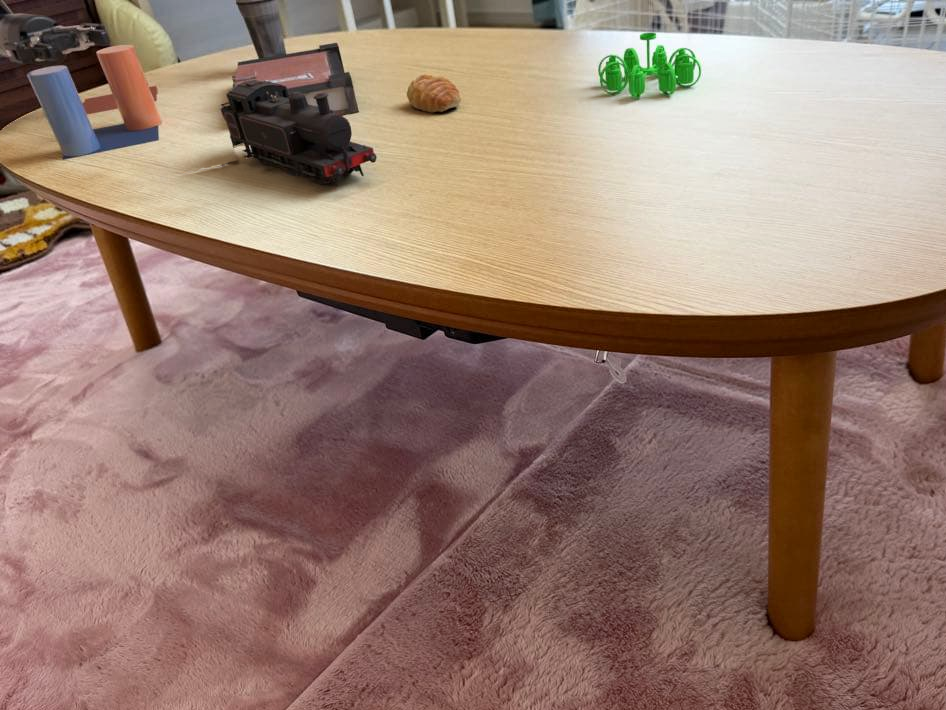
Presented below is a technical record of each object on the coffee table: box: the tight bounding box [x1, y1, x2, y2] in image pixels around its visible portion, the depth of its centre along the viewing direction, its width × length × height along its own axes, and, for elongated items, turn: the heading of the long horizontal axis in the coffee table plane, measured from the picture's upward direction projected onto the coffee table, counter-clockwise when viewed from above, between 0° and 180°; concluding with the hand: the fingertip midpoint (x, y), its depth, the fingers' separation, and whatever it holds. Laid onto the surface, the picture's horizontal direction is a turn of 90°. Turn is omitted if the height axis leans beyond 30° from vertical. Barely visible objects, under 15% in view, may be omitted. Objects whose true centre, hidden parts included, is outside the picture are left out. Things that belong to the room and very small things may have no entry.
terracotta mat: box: [83, 85, 158, 115], centre depth 138 cm, size 12×12×1 cm
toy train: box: [220, 80, 378, 187], centre depth 98 cm, size 8×25×10 cm, turn 45°
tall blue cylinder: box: [26, 65, 100, 158], centre depth 112 cm, size 5×5×11 cm
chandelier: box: [597, 32, 702, 99], centre depth 113 cm, size 15×15×7 cm
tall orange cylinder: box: [95, 44, 163, 131], centre depth 120 cm, size 5×5×11 cm
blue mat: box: [62, 122, 160, 161], centre depth 120 cm, size 13×14×1 cm
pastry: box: [406, 73, 462, 114], centre depth 116 cm, size 9×7×4 cm
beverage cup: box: [235, 0, 287, 59], centre depth 142 cm, size 7×7×20 cm
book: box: [231, 42, 360, 116], centre depth 127 cm, size 26×18×5 cm
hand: (79, 45), depth 123 cm, fingers open, 8 cm apart
